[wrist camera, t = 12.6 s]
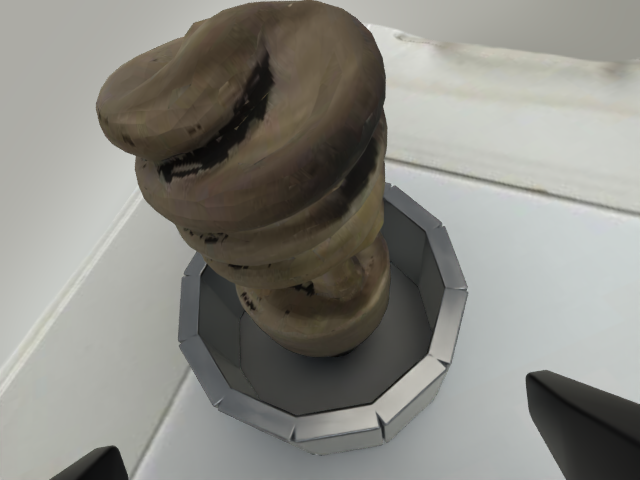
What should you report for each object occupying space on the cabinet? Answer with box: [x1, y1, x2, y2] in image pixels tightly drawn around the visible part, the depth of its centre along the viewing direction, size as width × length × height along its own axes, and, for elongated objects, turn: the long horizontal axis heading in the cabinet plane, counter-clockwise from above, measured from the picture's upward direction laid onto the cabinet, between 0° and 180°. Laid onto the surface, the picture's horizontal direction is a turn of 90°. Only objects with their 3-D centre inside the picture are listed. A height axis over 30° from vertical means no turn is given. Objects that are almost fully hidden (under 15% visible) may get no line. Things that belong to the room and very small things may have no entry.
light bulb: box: [96, 0, 391, 357], centre depth 13 cm, size 6×6×15 cm
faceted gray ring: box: [178, 182, 468, 456], centre depth 17 cm, size 11×11×5 cm
